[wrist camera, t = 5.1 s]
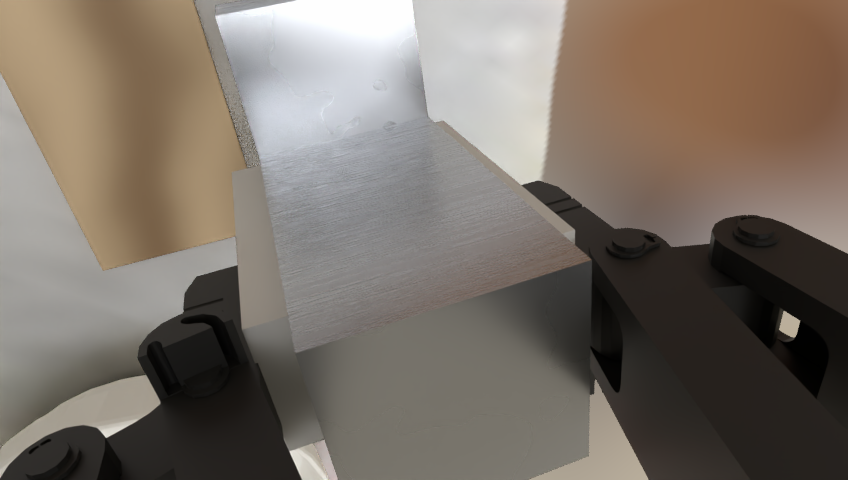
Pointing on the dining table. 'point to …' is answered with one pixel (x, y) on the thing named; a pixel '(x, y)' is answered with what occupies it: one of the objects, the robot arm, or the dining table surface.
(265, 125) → the bent metal sheet
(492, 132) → the dining table surface
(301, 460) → the bowl
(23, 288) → the dining table surface
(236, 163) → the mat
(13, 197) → the dining table surface
